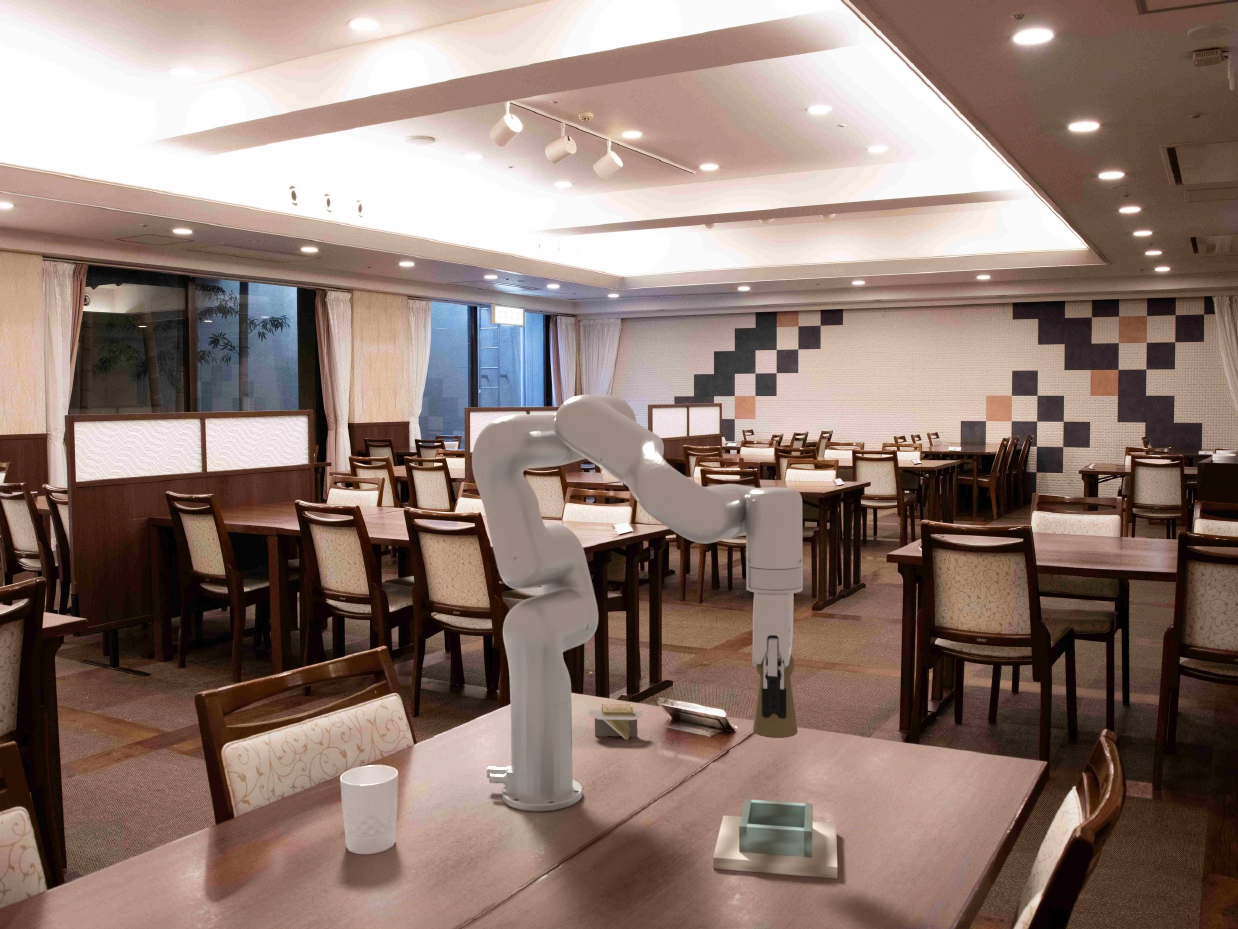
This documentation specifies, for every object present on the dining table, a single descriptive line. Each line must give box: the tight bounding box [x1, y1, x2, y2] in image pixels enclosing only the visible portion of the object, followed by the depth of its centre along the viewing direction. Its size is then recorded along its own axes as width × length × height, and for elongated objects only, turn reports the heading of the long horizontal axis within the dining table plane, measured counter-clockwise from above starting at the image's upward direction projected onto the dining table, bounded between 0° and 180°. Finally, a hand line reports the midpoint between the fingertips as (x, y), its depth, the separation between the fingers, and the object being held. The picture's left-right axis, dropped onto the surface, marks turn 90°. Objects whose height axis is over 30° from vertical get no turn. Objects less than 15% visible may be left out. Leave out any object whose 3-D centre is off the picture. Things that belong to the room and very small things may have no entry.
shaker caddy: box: [712, 798, 838, 879], centre depth 137 cm, size 16×14×5 cm
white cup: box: [339, 764, 399, 855], centre depth 141 cm, size 8×8×10 cm
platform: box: [588, 703, 644, 741], centre depth 186 cm, size 12×18×7 cm, turn 85°
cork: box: [752, 654, 798, 739], centre depth 137 cm, size 6×6×11 cm
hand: (775, 711), depth 137 cm, fingers closed on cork, 3 cm apart
